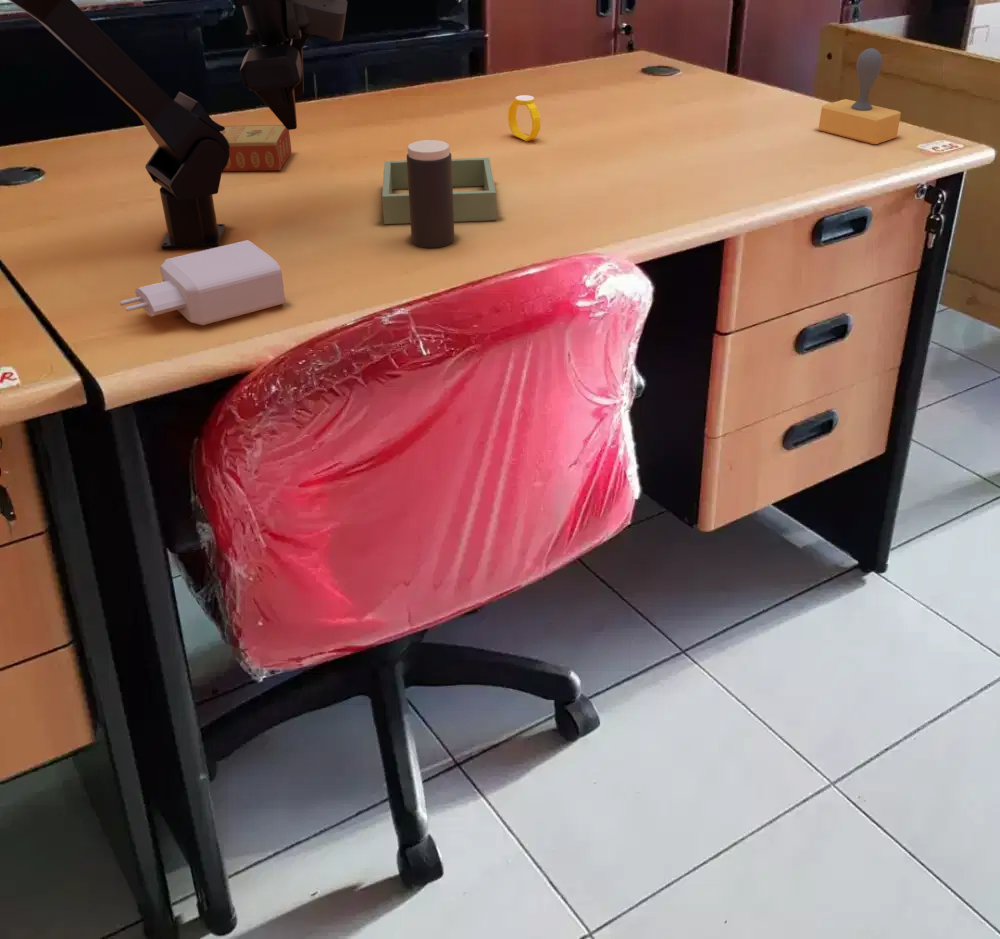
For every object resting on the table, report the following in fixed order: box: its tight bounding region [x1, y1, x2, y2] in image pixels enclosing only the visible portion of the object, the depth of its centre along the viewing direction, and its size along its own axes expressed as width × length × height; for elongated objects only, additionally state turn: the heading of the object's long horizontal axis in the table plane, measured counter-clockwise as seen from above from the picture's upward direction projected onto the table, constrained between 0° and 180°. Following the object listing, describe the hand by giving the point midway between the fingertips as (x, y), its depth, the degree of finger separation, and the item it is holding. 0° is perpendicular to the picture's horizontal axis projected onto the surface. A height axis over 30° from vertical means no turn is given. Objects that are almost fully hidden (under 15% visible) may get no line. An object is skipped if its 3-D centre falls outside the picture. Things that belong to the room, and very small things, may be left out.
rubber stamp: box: [817, 47, 902, 145], centre depth 155 cm, size 10×6×12 cm, turn 40°
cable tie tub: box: [406, 139, 455, 249], centre depth 122 cm, size 5×5×11 cm
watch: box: [507, 94, 542, 142], centre depth 157 cm, size 6×3×6 cm, turn 38°
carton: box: [220, 124, 292, 172], centre depth 149 cm, size 8×16×4 cm, turn 89°
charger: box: [119, 239, 286, 326], centre depth 109 cm, size 5×9×15 cm
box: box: [381, 157, 497, 225], centre depth 135 cm, size 14×14×4 cm
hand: (296, 111), depth 128 cm, fingers open, 9 cm apart
